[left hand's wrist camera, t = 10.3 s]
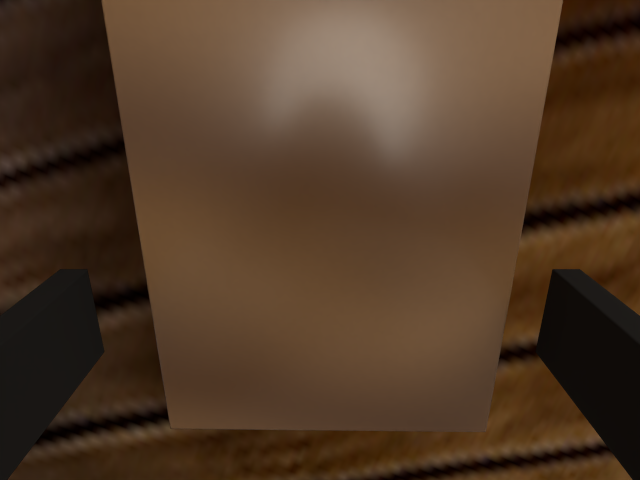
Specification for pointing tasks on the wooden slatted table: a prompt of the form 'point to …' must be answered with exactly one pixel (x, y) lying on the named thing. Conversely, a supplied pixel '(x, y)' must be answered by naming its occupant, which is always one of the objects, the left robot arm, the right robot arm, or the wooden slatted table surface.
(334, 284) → the cabinet
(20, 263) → the wooden slatted table surface
